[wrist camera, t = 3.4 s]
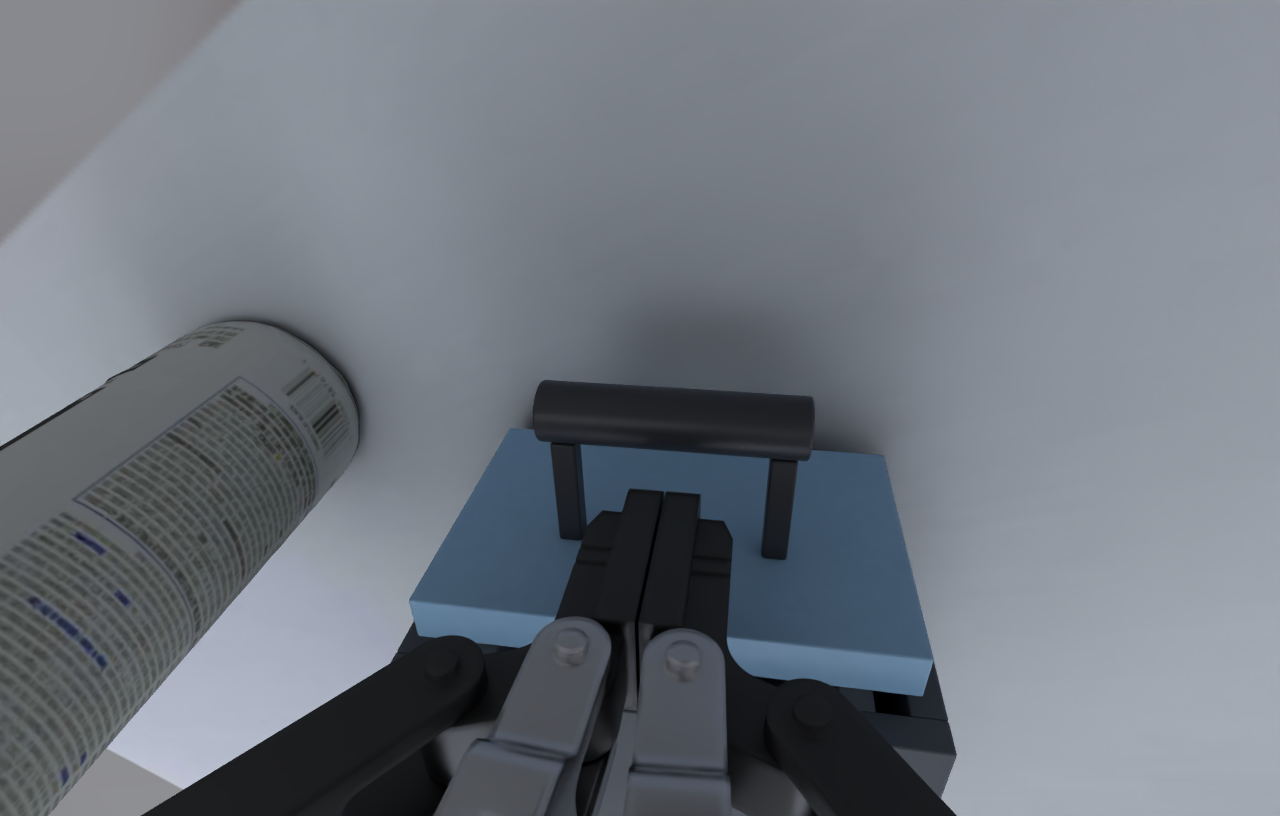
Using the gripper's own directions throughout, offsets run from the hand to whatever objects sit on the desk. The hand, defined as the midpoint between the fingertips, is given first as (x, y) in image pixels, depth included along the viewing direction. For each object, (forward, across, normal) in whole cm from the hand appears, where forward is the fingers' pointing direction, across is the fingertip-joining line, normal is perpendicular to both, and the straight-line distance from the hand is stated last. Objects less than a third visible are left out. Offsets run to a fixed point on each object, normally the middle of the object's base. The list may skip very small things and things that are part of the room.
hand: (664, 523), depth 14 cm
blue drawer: (+6, 0, +7) cm, 9 cm away
